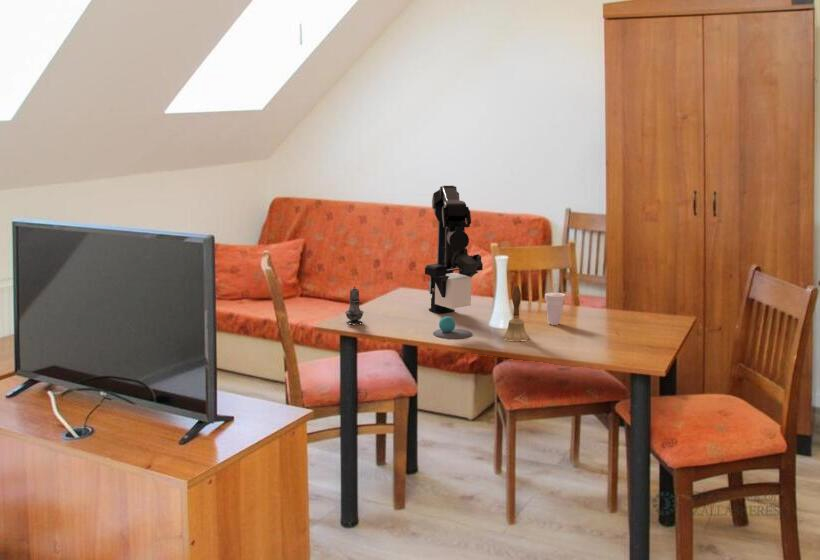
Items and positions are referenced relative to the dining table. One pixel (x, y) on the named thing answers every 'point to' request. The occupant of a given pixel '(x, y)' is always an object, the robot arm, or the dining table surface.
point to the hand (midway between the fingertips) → (453, 295)
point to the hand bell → (516, 320)
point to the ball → (447, 324)
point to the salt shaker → (354, 308)
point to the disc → (453, 334)
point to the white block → (455, 291)
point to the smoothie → (554, 306)
